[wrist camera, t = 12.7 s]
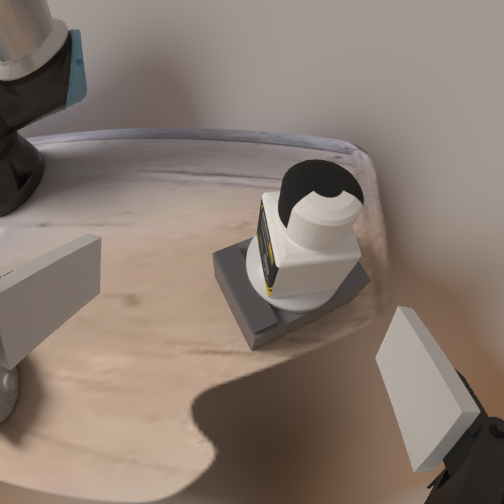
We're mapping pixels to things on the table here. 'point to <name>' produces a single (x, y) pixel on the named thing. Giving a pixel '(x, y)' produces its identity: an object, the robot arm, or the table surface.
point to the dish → (8, 391)
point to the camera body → (273, 309)
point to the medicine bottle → (309, 229)
